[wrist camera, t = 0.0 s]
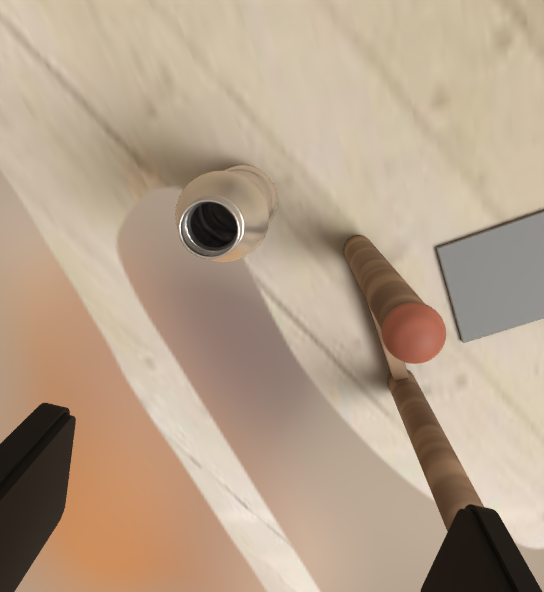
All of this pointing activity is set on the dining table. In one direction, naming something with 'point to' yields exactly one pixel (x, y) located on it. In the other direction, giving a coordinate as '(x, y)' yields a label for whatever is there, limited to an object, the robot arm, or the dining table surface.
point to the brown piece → (405, 390)
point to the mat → (496, 277)
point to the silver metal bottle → (226, 212)
